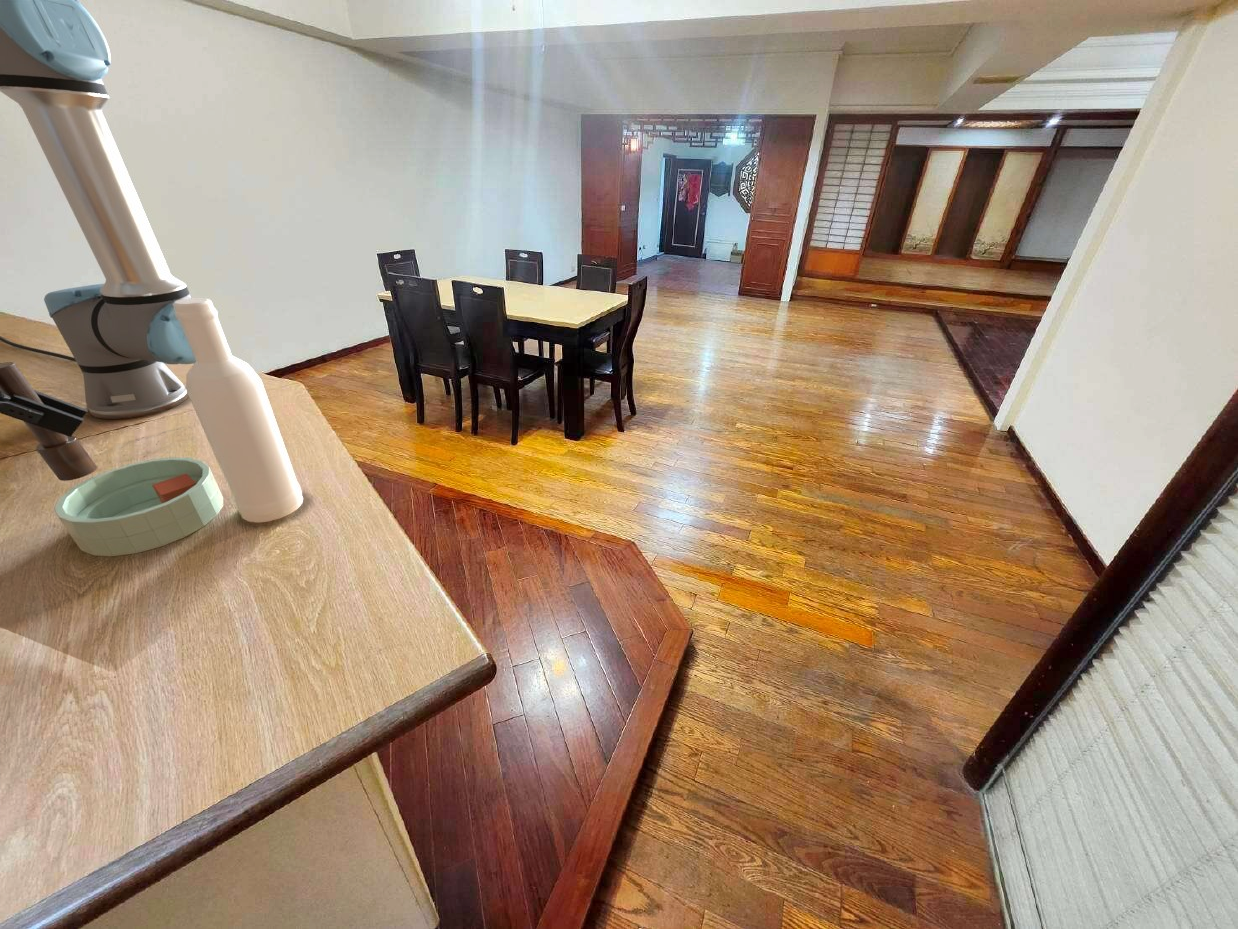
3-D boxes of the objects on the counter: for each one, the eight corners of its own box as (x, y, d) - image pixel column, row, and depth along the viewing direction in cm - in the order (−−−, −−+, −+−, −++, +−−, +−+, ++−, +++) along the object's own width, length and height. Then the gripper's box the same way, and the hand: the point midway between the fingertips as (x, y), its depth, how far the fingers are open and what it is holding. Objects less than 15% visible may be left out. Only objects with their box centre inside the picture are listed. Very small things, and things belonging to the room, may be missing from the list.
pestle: (56, 474, 69) (-26, 366, 61) (94, 462, 72) (20, 357, 63) (61, 484, 67) (-24, 374, 58) (99, 471, 70) (23, 364, 61)
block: (164, 507, 71) (151, 484, 69) (197, 495, 74) (186, 473, 72) (173, 518, 69) (161, 495, 67) (207, 505, 72) (196, 483, 70)
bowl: (67, 525, 68) (43, 489, 65) (202, 479, 78) (187, 446, 75) (96, 577, 60) (70, 539, 57) (242, 518, 71) (227, 483, 67)
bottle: (311, 510, 73) (239, 303, 57) (249, 533, 68) (152, 312, 52) (295, 488, 77) (225, 290, 62) (236, 507, 73) (143, 298, 57)
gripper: (-209, 324, 56) (73, 423, 73) (-308, 365, 45) (50, 470, 62) (-168, 271, 56) (104, 383, 73) (-257, 299, 45) (86, 423, 62)
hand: (79, 423), depth 67 cm, fingers closed on pestle, 3 cm apart
